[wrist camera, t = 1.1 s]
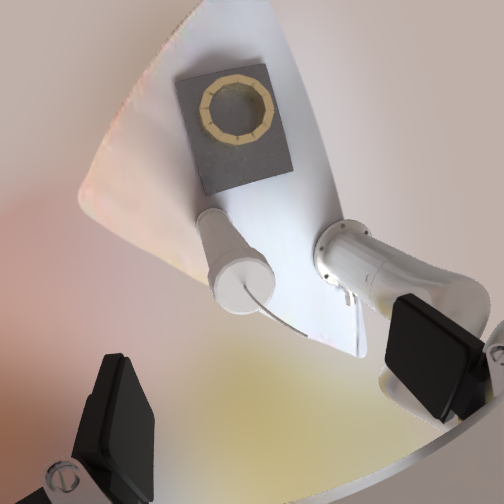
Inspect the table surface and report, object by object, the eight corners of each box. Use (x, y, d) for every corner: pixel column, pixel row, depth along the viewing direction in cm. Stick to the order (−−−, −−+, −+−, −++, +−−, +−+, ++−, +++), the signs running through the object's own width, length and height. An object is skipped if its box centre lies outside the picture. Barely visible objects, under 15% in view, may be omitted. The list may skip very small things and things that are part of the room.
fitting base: (290, 170, 46) (303, 172, 41) (205, 194, 44) (209, 199, 39) (262, 66, 40) (272, 55, 35) (175, 85, 38) (174, 75, 33)
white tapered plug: (204, 200, 45) (245, 271, 17) (240, 217, 47) (328, 303, 19) (189, 233, 46) (207, 347, 18) (225, 248, 48) (288, 368, 20)
